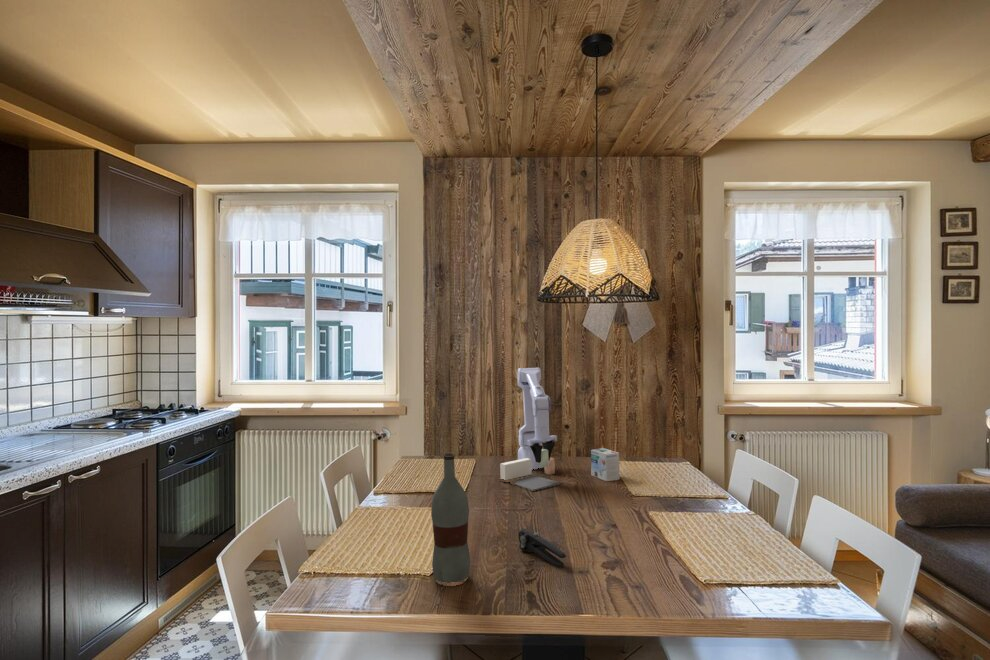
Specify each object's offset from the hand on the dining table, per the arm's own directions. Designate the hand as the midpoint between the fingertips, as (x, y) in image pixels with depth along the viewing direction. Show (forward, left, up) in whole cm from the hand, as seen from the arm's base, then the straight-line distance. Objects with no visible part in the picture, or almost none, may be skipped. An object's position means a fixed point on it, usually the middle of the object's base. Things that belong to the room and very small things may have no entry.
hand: (542, 461), depth 206 cm
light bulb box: (+11, +24, -9) cm, 28 cm away
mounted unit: (-12, -4, -8) cm, 15 cm away
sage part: (0, 0, -2) cm, 2 cm away
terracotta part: (-9, +12, -8) cm, 17 cm away
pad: (-1, -4, -8) cm, 9 cm away
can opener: (+50, -47, -9) cm, 69 cm away
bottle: (+45, -72, -9) cm, 86 cm away
